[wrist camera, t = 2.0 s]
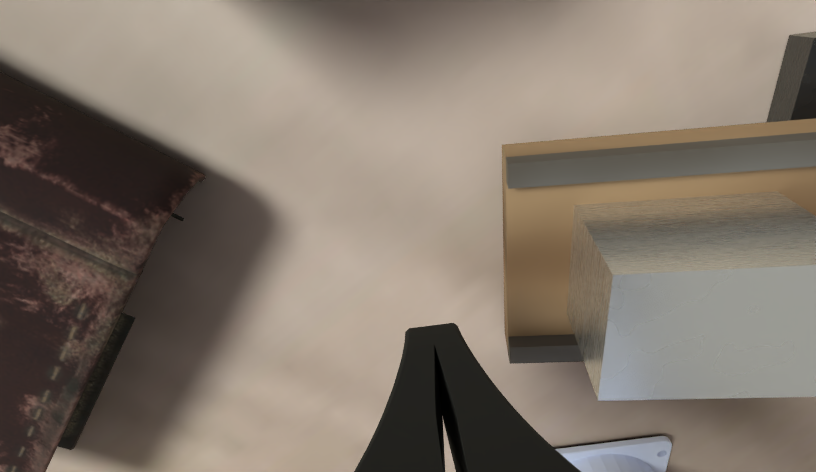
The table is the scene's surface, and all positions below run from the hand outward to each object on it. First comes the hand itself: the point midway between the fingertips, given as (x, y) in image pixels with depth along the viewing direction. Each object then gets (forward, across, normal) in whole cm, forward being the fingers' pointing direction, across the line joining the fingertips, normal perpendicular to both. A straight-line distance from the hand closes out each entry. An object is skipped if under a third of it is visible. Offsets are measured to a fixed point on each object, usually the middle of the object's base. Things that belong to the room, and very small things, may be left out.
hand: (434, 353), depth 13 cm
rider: (+3, -8, 0) cm, 9 cm away
